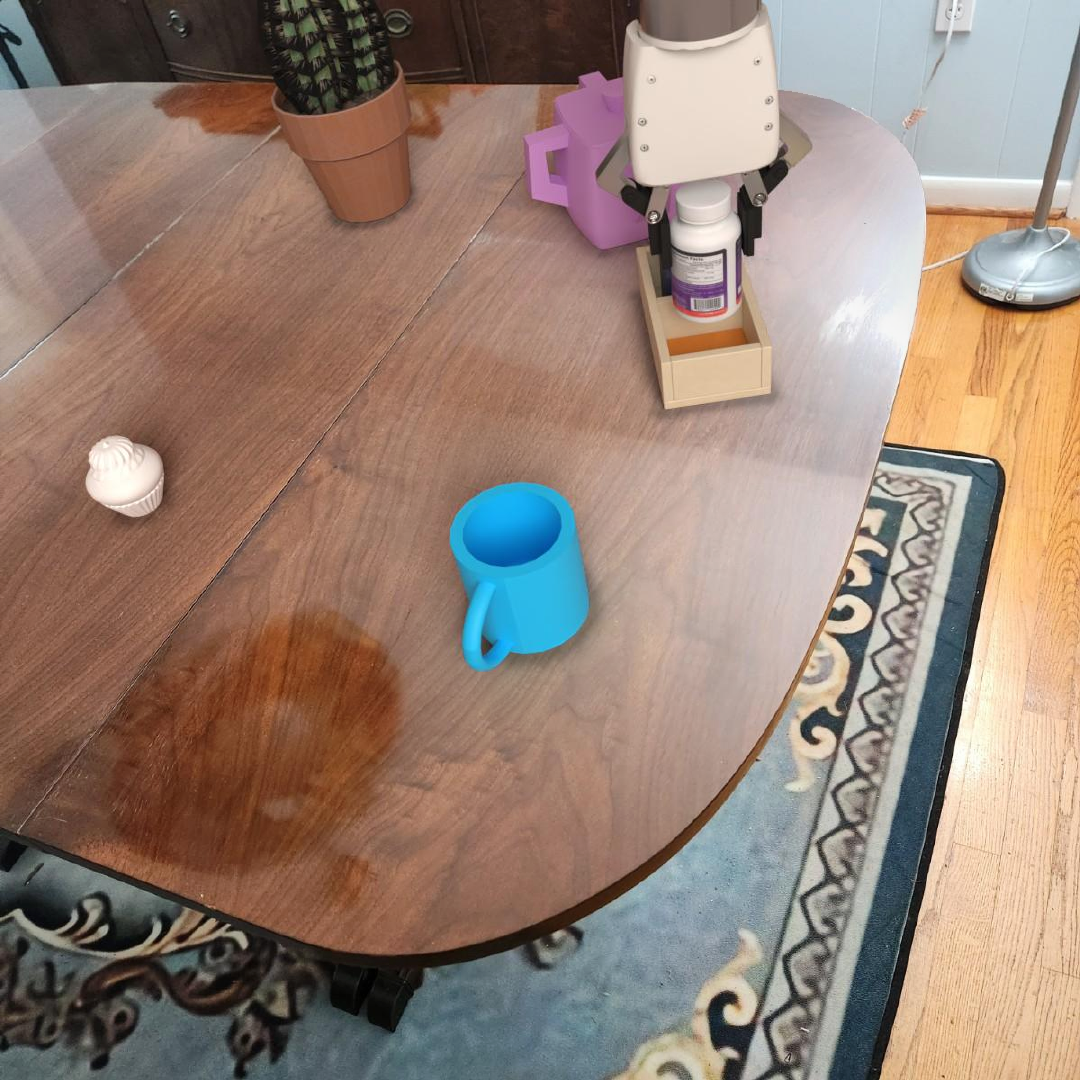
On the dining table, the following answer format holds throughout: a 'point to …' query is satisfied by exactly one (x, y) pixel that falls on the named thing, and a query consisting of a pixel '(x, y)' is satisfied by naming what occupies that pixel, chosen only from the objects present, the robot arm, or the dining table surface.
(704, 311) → the pill bottle
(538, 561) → the mug
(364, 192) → the potted plant
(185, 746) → the dining table surface
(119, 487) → the muffin
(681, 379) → the sorter
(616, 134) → the teakettle
